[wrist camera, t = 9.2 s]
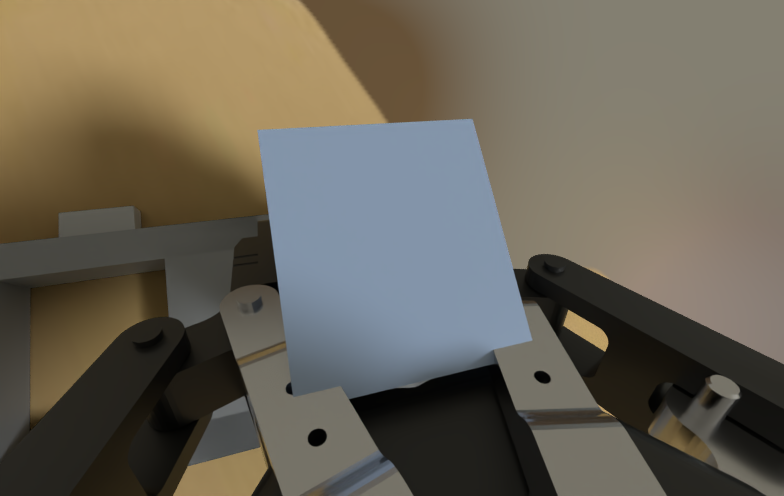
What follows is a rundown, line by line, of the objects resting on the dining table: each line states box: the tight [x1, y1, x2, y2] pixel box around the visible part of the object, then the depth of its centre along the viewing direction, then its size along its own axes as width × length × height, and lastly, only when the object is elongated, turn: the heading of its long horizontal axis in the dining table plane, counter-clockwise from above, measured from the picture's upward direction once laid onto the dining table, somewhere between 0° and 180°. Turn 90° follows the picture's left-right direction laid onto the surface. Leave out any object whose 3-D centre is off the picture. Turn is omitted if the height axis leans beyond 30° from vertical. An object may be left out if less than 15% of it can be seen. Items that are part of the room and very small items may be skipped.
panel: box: [0, 206, 430, 466], centre depth 17 cm, size 12×19×2 cm, turn 101°
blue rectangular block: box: [258, 119, 532, 399], centre depth 12 cm, size 5×4×12 cm
